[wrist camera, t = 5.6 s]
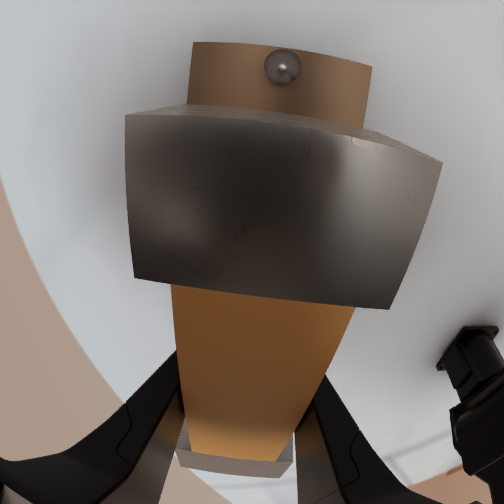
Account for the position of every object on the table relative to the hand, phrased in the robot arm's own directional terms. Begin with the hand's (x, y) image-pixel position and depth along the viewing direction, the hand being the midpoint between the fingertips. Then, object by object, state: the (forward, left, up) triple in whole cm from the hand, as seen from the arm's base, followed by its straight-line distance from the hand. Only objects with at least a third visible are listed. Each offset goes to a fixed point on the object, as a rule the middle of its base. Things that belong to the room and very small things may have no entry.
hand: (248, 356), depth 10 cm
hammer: (0, 0, -1) cm, 1 cm away
